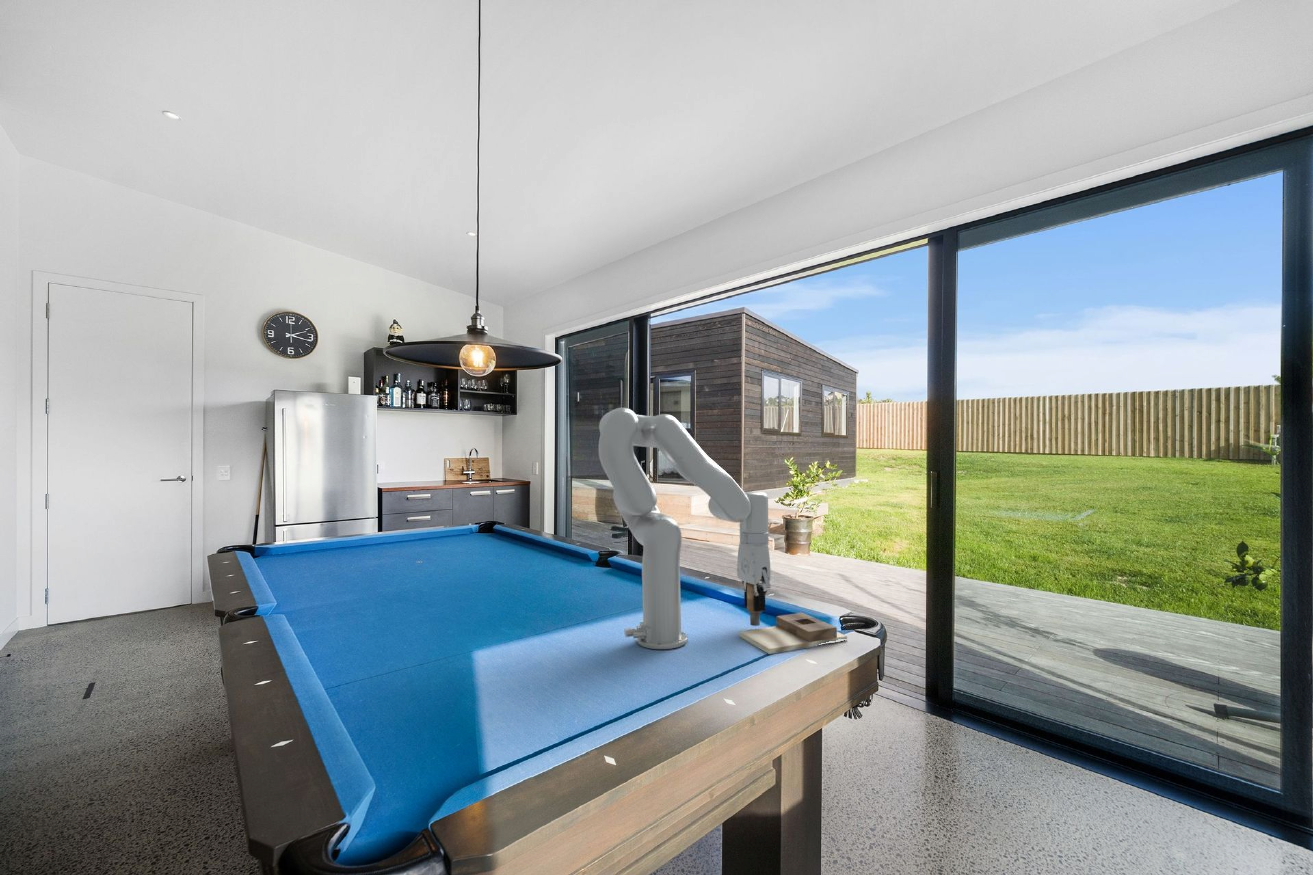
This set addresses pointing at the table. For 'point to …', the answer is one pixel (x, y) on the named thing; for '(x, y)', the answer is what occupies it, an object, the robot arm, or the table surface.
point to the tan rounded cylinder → (752, 605)
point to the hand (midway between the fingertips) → (754, 607)
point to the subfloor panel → (792, 634)
